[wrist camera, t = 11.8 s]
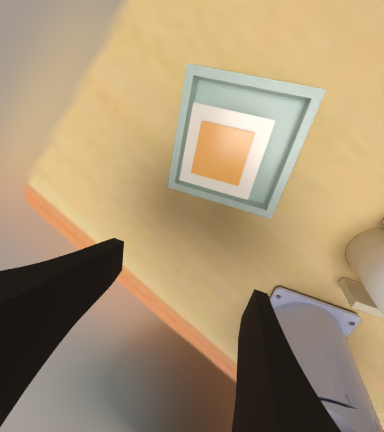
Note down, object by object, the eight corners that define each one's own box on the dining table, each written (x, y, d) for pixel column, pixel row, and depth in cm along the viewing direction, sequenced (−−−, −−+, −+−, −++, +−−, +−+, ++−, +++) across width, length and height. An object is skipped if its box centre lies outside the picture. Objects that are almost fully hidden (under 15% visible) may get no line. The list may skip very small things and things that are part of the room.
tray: (269, 210, 19) (271, 219, 17) (175, 182, 20) (167, 187, 18) (318, 94, 15) (326, 89, 13) (194, 70, 16) (187, 63, 14)
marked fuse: (251, 173, 17) (247, 202, 11) (206, 161, 18) (176, 181, 12) (268, 122, 16) (276, 120, 9) (217, 111, 16) (190, 101, 10)
